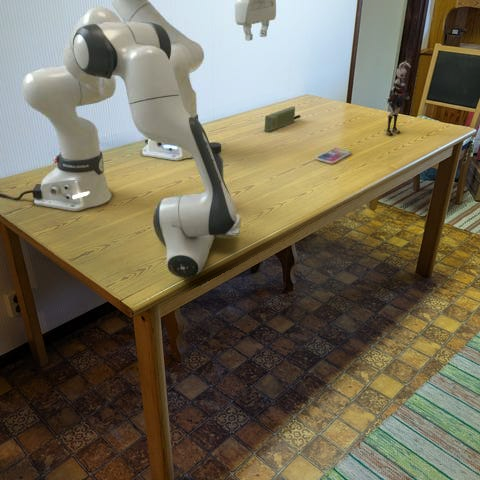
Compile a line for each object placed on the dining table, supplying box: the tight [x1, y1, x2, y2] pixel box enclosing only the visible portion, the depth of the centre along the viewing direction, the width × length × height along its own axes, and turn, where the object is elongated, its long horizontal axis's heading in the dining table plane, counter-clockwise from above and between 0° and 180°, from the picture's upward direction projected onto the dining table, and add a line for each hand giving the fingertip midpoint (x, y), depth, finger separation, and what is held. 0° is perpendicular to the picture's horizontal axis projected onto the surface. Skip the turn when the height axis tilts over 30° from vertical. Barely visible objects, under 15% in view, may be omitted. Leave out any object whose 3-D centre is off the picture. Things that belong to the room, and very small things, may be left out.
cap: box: [209, 141, 222, 154], centre depth 142 cm, size 4×4×2 cm
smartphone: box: [315, 147, 352, 165], centre depth 188 cm, size 7×1×15 cm
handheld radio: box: [264, 105, 301, 133], centre depth 221 cm, size 7×3×25 cm
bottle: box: [214, 153, 224, 178], centre depth 146 cm, size 5×5×19 cm
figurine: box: [385, 60, 412, 137], centre depth 207 cm, size 15×6×30 cm, turn 132°
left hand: (206, 209), depth 138 cm, fingers open, 8 cm apart
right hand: (256, 38), depth 156 cm, fingers open, 8 cm apart
